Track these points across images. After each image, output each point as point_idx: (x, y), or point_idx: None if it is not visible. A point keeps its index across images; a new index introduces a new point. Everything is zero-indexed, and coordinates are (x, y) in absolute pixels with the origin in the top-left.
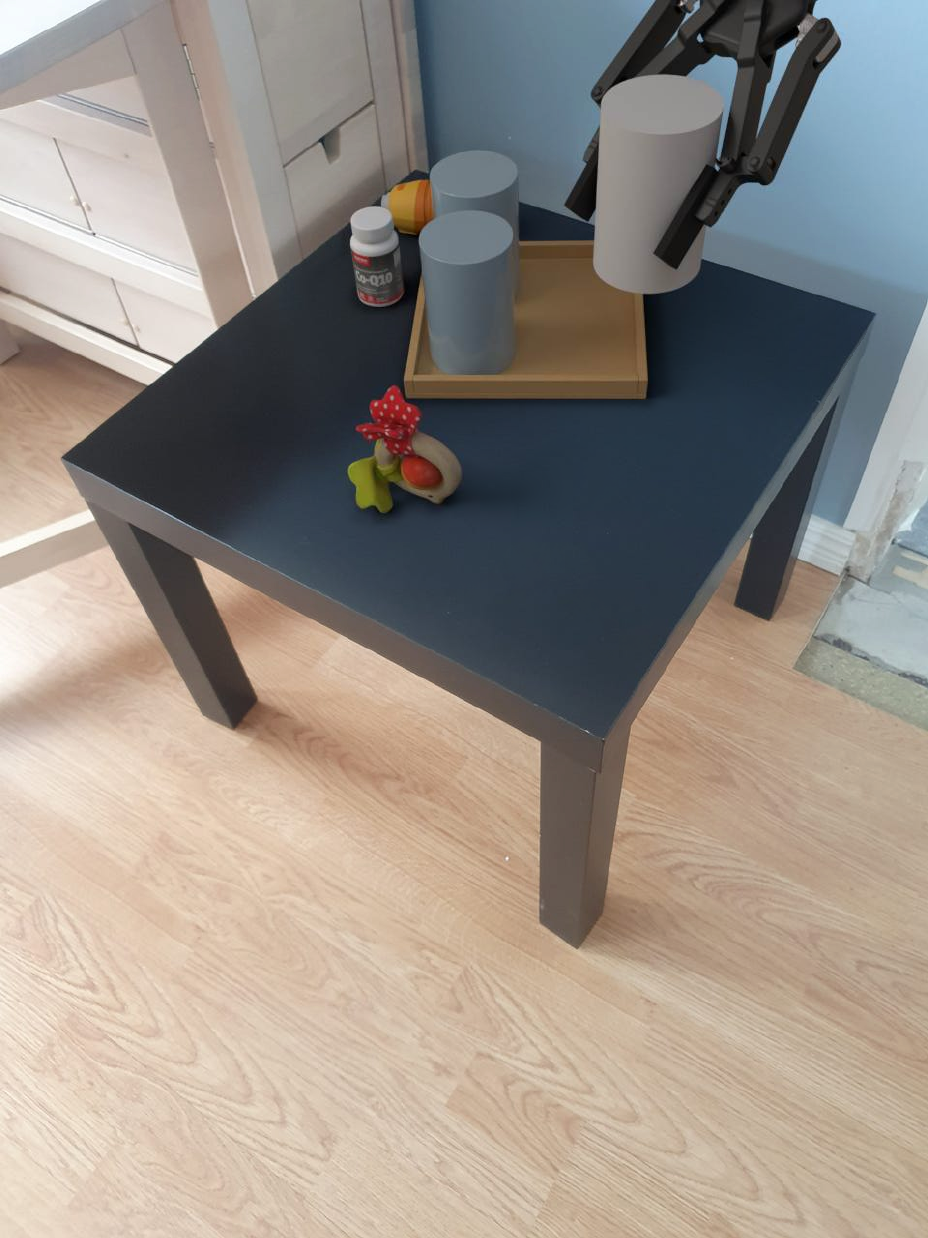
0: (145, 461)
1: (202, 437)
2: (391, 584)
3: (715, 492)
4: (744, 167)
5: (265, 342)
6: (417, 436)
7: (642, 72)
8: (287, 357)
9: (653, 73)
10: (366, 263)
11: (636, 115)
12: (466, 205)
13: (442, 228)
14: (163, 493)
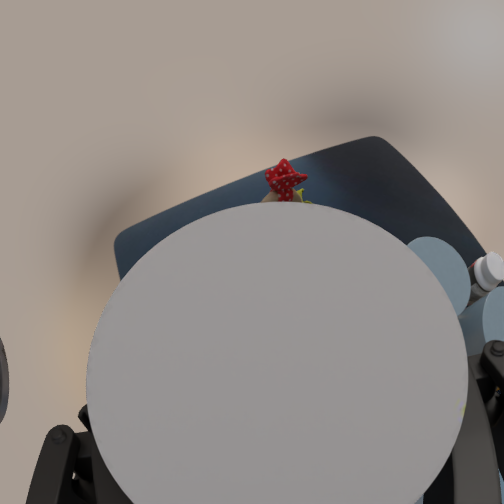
0: (369, 149)
1: (377, 169)
2: (233, 197)
3: None
4: (88, 441)
5: (439, 217)
6: (273, 194)
7: (484, 433)
8: (425, 221)
9: (462, 457)
10: (472, 265)
11: (264, 268)
12: (480, 306)
13: (452, 263)
14: (345, 147)
